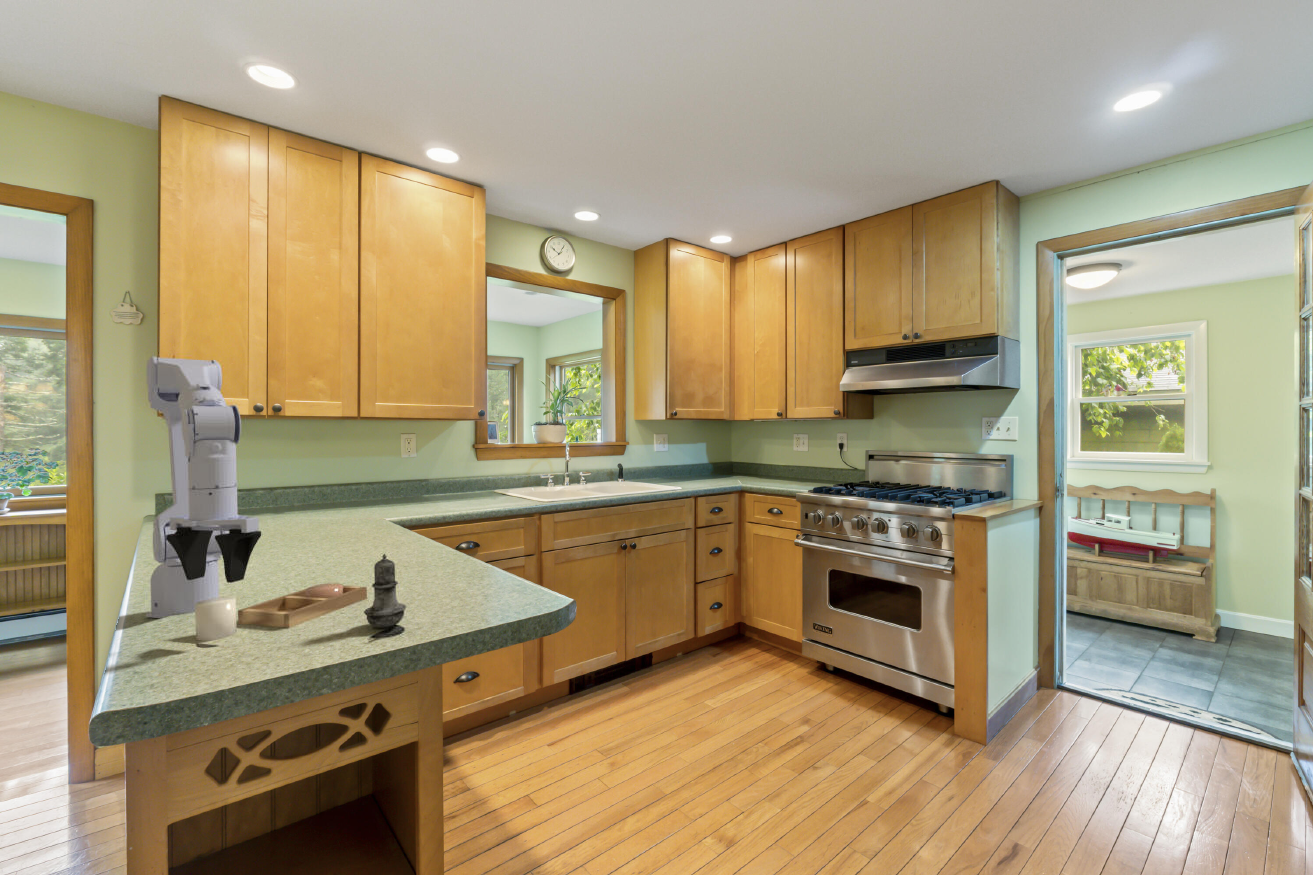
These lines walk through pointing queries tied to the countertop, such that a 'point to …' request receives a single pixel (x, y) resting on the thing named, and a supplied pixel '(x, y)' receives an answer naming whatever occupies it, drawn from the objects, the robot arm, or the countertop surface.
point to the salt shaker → (385, 601)
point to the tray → (298, 608)
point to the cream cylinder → (215, 619)
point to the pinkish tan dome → (325, 590)
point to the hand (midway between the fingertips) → (215, 579)
